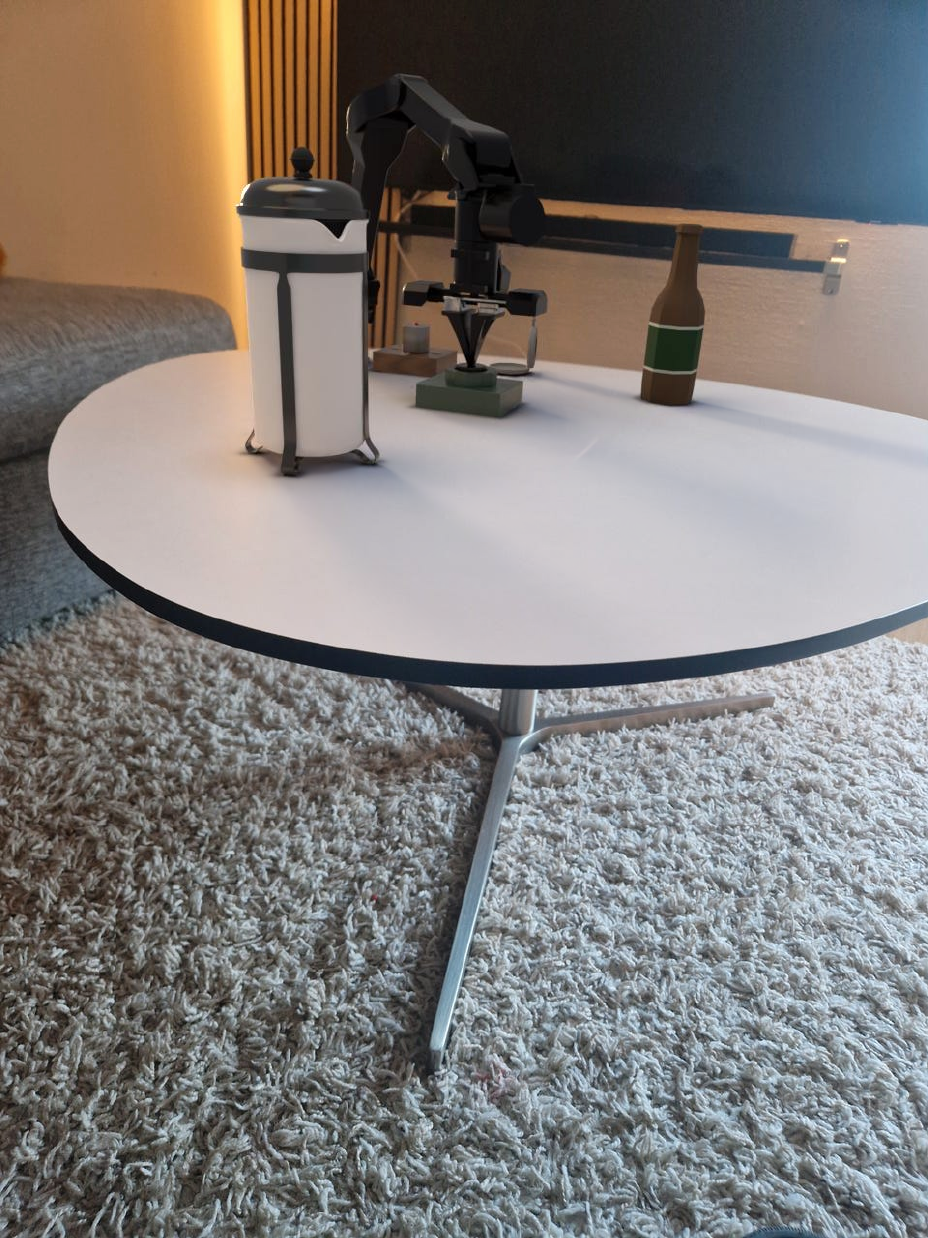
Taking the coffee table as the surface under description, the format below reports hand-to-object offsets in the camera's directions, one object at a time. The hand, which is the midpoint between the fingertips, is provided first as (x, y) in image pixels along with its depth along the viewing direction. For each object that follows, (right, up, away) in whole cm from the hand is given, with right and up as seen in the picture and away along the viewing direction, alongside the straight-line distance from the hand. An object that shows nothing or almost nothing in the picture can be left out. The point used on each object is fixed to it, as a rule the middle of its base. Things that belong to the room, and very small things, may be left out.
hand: (471, 364), depth 122 cm
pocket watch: (+8, +6, +26) cm, 28 cm away
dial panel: (-9, +6, +25) cm, 27 cm away
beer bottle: (+29, -2, +11) cm, 31 cm away
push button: (0, -2, +1) cm, 2 cm away
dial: (-9, +9, +23) cm, 26 cm away
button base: (0, -5, +2) cm, 6 cm away
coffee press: (-19, -17, -23) cm, 34 cm away
